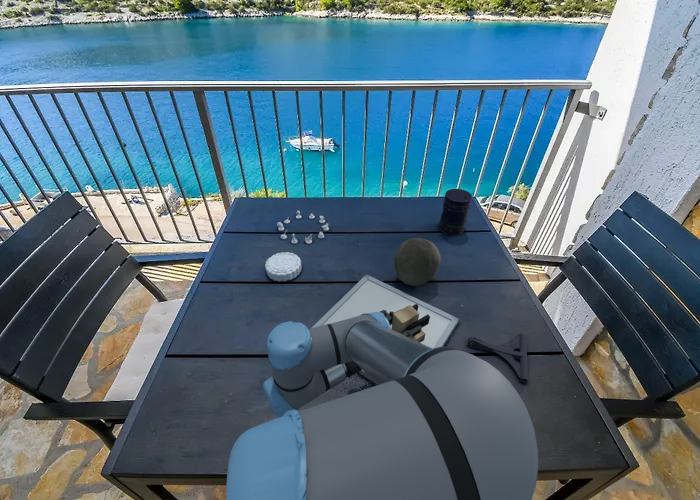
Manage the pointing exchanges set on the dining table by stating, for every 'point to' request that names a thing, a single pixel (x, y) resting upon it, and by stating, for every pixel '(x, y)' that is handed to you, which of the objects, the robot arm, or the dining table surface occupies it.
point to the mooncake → (283, 266)
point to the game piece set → (308, 240)
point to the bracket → (508, 353)
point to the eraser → (406, 321)
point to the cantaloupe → (416, 261)
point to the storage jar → (455, 211)
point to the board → (380, 297)
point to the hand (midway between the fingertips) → (422, 313)
